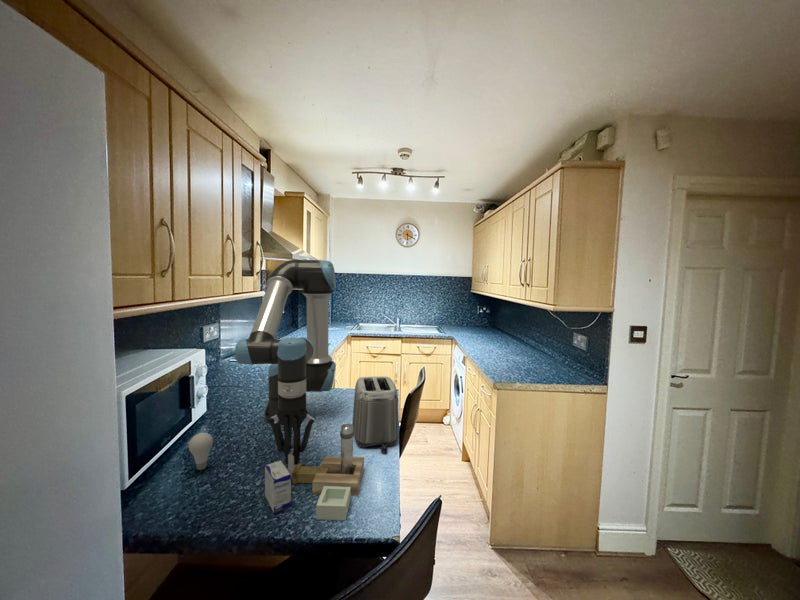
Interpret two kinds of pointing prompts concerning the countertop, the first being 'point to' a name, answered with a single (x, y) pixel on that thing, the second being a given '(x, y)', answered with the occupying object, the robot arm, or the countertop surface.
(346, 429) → the grey peg
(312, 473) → the yellow brown block
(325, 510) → the tray
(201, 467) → the lightbulb
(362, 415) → the toaster
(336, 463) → the socket block
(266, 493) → the box
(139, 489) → the countertop surface
